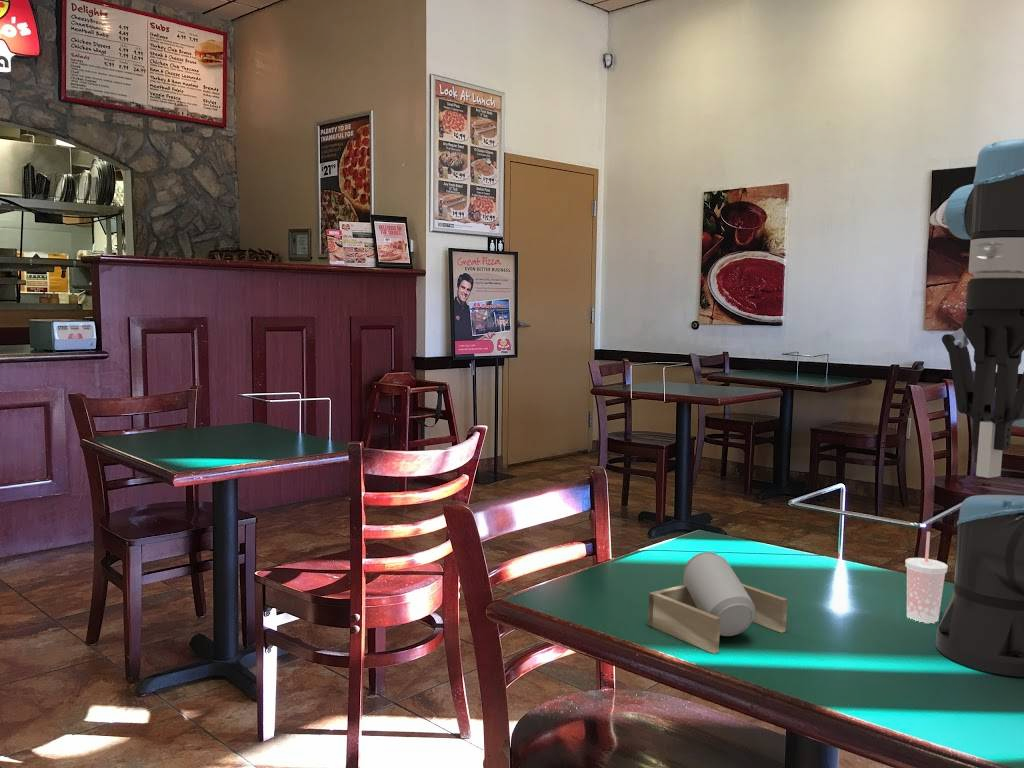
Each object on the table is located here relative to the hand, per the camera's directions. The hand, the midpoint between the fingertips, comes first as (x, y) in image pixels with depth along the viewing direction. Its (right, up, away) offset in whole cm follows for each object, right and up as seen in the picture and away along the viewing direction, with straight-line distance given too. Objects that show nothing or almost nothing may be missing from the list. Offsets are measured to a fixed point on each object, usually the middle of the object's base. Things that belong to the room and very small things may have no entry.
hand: (988, 475), depth 105 cm
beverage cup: (+8, -27, +35) cm, 45 cm away
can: (-25, -23, +21) cm, 40 cm away
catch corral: (-26, -26, +27) cm, 46 cm away
